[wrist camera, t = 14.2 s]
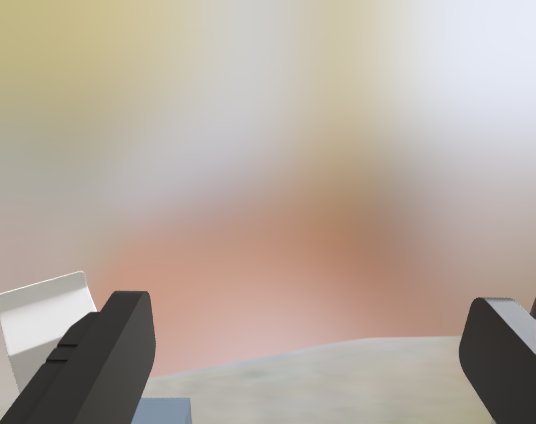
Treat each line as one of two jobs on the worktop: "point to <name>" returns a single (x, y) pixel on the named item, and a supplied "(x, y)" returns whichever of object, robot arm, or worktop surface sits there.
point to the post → (163, 411)
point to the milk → (41, 320)
